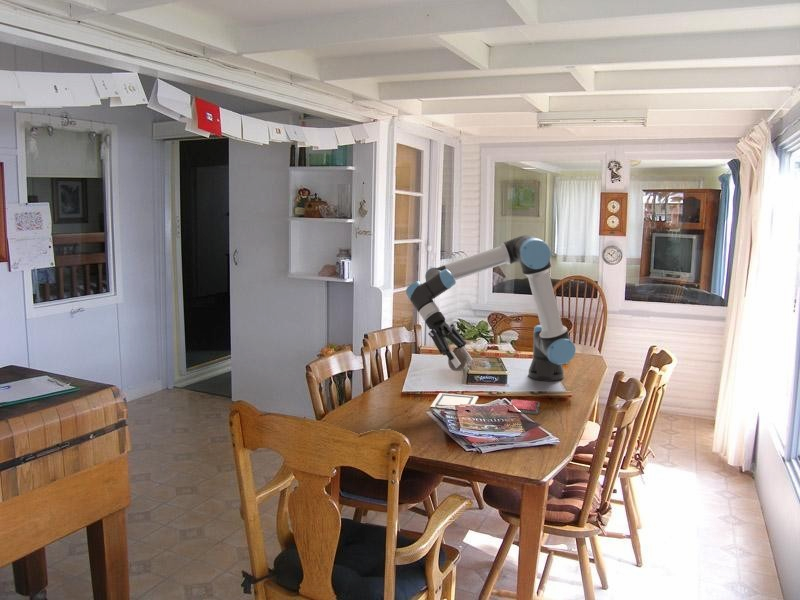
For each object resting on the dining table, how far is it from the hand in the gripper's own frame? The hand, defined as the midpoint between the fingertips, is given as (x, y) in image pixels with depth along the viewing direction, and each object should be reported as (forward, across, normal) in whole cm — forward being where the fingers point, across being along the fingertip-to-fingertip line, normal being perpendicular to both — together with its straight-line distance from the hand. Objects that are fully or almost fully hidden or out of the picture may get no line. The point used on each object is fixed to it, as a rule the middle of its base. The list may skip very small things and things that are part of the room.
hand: (464, 363), depth 264 cm
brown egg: (0, 0, -5) cm, 5 cm away
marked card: (+9, 0, -15) cm, 17 cm away
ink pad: (+26, -13, +2) cm, 29 cm away
